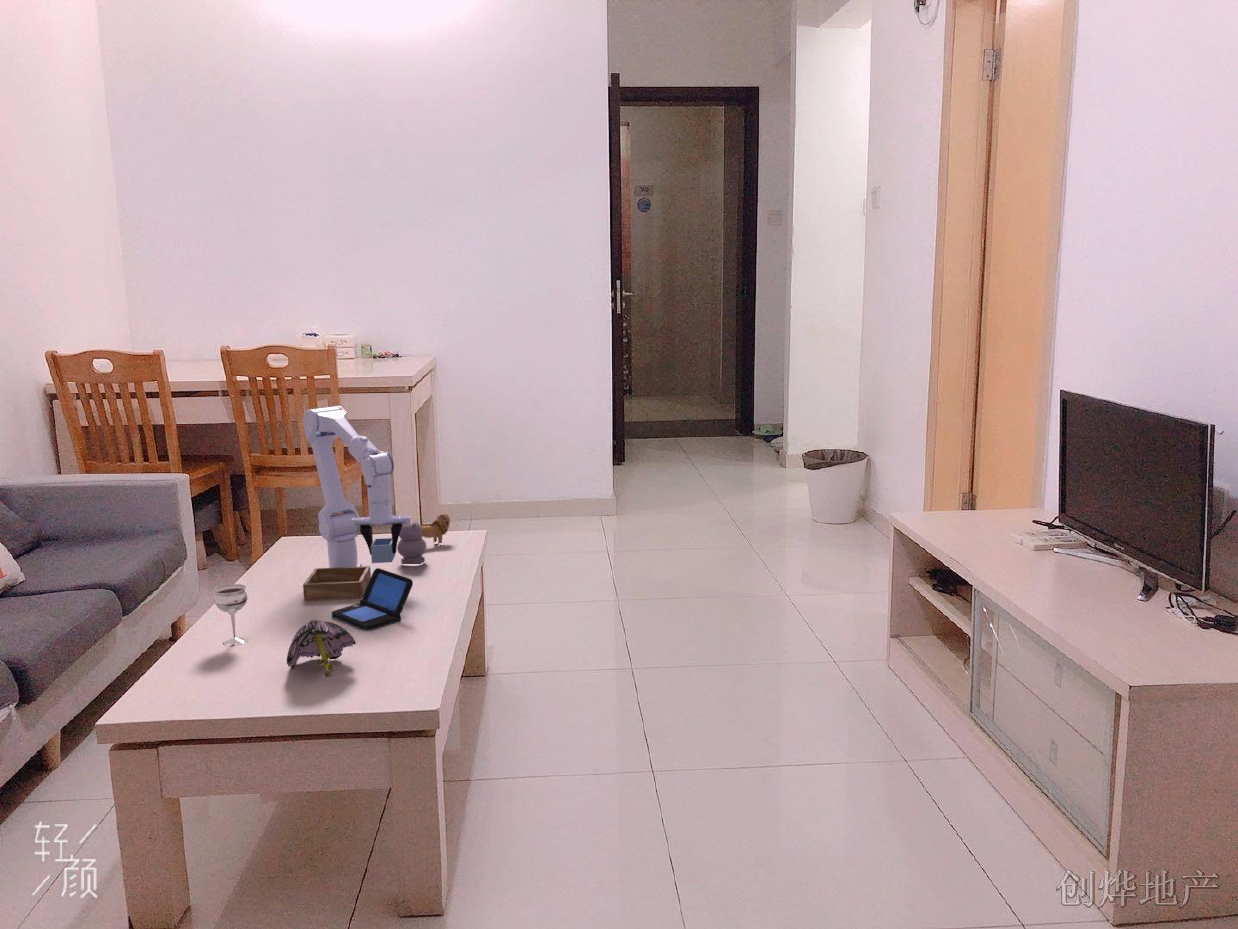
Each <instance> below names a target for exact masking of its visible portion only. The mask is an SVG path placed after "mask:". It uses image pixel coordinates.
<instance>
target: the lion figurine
mask: <svg viewBox="0 0 1238 929" xmlns="http://www.w3.org/2000/svg"><path fill="white" fill-rule="evenodd" d="M450 522H451V519H450V516H449V514H447V513H444V512H443V513H439V514H438V515H437V516H436V519H435V520H434V521H433V522H432V523H431V524H430V525H421V526H422V529H423V534H422V537H421V538H422V539H423V538H426V539H430V538H431V539H432V538H433V543H434V542H436V541H437V542H438V544H439V543H442V544H443V535H446V534H447V533H448V530H449V527H450Z"/></svg>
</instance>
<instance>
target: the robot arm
mask: <svg viewBox="0 0 1238 929" xmlns="http://www.w3.org/2000/svg"><path fill="white" fill-rule="evenodd" d="M302 425H303V429H304V434H305V436H306V440H307V442H309V443H310V445H311V449H312V453H313V457H314V462H315V466H316V469H317V474H318V478H319V481H320V487H321V491H322V495H323V499H324V506H323V507H322V508H321V510H319V512H318V513H317V518H318V531H319V533H320V535H321V537H322V538H323V539H324V540H325V541H326V542H327V545H326V546H327V556H328V566H329V567H328V568H340V567H357V564H358V562H359V560H358V547H357V540H356V538H358V534H359V533H360V534H361V535H362V537H363V539H364V541H365V543H366V545H367V549H368V551H369V555H370V556H371V544H372V542H373V541H374V539H373V536H374V535H373V527H375V526H378V527H379V526H391V527H390V532H391V538H392V550H393V554H395V555H396V554H397V546H398V543H399V538H400V537H399V534H400V531H401V528H402V526H403V525H405V524H406V525H410V524H411V520H412V517H411V515H393V507H392V506H393V504H392V488H391V474H393V472H394V470H395V462H394V458H393V457H392V455H391V454H390V453H389V452H388V451H383V450H379V449H378V448H377V447H376V446H375V445H374V444H373V443H372V442H371V440H370V439H369V438H368V437H367V436H364V435H359V434H358V433H357V431H356V430H355V429H354V427H353V426H352V425H351V423H350V422H349V420H348V414H347V411H345V409H344V408H343V406H341V405H334V406H329V407H321V408H313V409H312V408H308V409H306V411H305V412H304V414H303V418H302ZM337 438H340V439H341V440H342V441H343V442H344V443H345V444H346V445H348V448H347V450H348V452H349V454H350V455H351V456H352V457H353V458H354V459H355V461H357V463H359V464H360V470H361V473H362V476H363V478H364V479H363V480H364V483H365V485H366V487H367V503H368V504H367V505H368V516H363V517H360V515H359V514H358V512H357V510H356V509H357V508H356V506H355V505H354V504H352V503H350V502H349V501H348V500H346V497H345V493H344V490H343V486H342V482H341V476H340V472H339V469H338V464H337V461H336V456H335V452H334V449H333V442H334V440H335V439H337ZM361 563H362V562H361ZM361 563H360V564H361ZM361 565H362V564H361ZM358 567H359V566H358Z"/></svg>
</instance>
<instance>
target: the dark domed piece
mask: <svg viewBox="0 0 1238 929" xmlns="http://www.w3.org/2000/svg"><path fill="white" fill-rule="evenodd" d="M291 640H292V641H291V644H290V646H289V648H288V650H287V651H288V652H287V655H286V665H287V667H288V668H289V667H290V668H291V669H292V670H294V667H295V665H296V664H297V663H298V662H299V661H298V660H299V659H300V658H305V657H306V658H311V659H312V658H313V657H319V659H318V660H317V663H318V665H323V666H325V669H326V671H325V672H324V675H326V676H325V677H328V676H327V675H330V676H331V672H332V671H334V664H333V663H330V661H329V660H331V659H335V660H337V659H338V658H340V657H341V656H342V655H343V654H342V653H343V652H342V651H343V650H344V649H345V648H347V647H353V645H356V644H357V643H356V640H355V638H354V637H353V636H352V635H351V633H349V631H347V630H346V629H345V628H344V627H342V626H340V625H339V624H337V623H334V622H330V621H321V620H319V619H313V620H310V621H309V622H308V623H306V624H305V625H303V626H301V627H300V628H299V629H298V630H297V632H296V633H295V634H294V636H293V638H292V639H291ZM343 648H344V649H343ZM320 657H321V658H320Z"/></svg>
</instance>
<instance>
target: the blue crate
mask: <svg viewBox="0 0 1238 929" xmlns="http://www.w3.org/2000/svg"><path fill="white" fill-rule="evenodd" d="M370 557H371V564H381V563H382V564H384V563H393V561H394V559H395V557H396V553H395V554H393V550H392V537H384V538H383V537H382V538H379V537H378V538H374V539H373V542H372V544H371V555H370Z"/></svg>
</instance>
